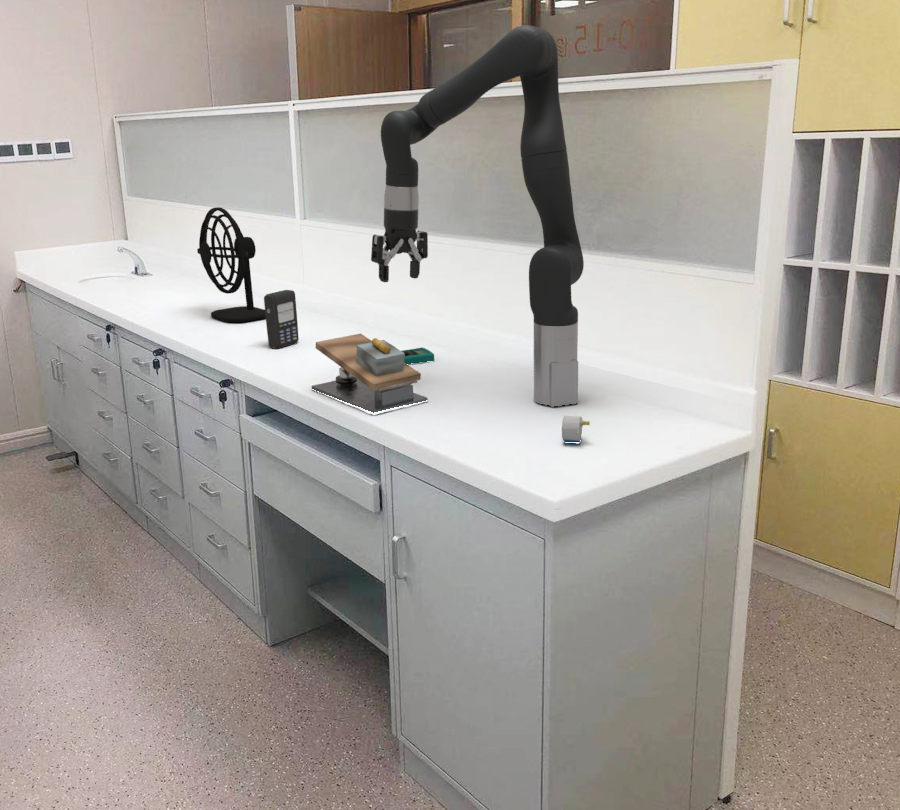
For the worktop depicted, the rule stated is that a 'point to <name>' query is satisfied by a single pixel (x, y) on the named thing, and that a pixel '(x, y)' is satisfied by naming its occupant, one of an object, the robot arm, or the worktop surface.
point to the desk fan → (243, 252)
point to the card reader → (281, 318)
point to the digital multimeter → (418, 355)
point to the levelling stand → (367, 393)
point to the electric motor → (572, 428)
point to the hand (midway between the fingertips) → (399, 279)
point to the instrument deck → (349, 361)
